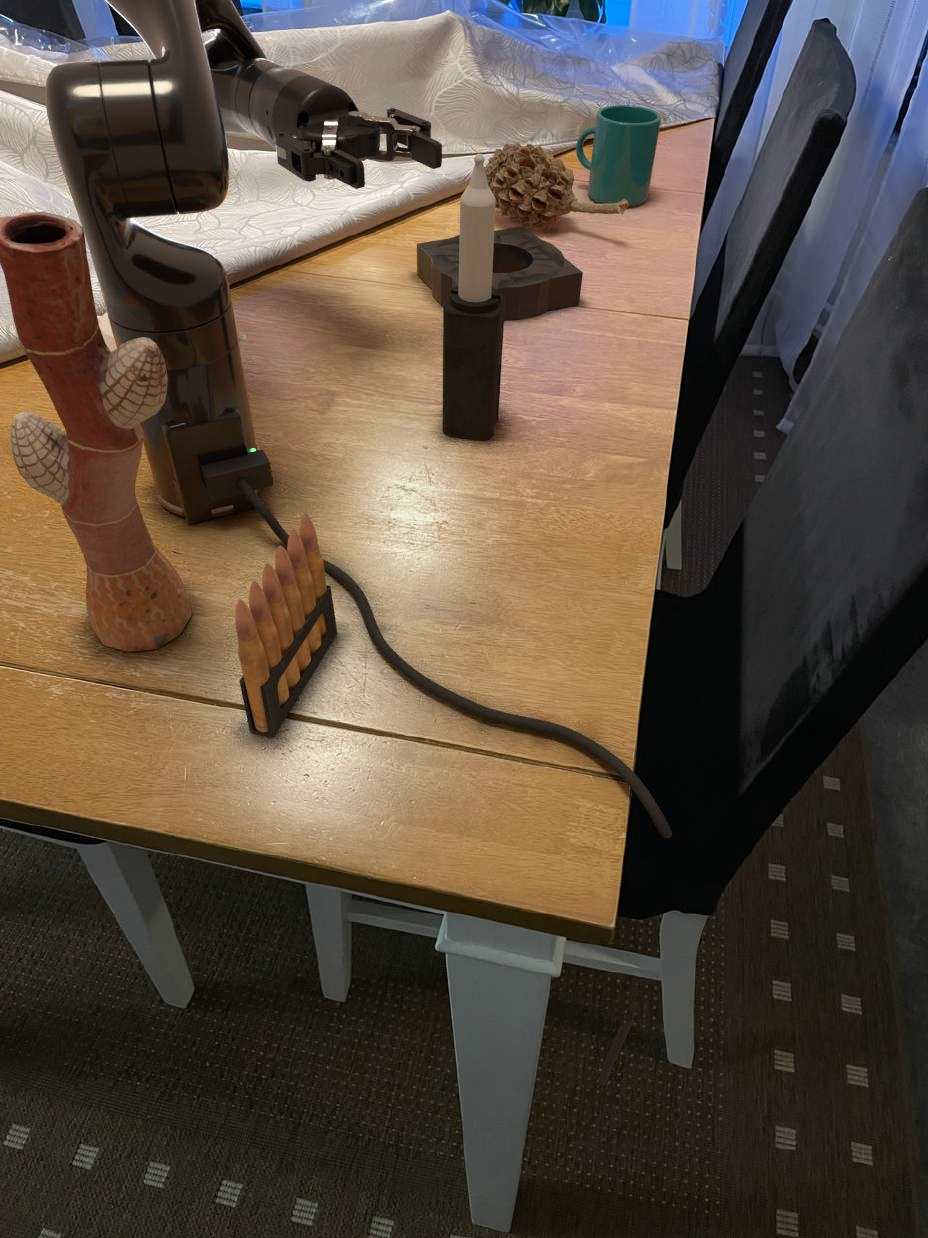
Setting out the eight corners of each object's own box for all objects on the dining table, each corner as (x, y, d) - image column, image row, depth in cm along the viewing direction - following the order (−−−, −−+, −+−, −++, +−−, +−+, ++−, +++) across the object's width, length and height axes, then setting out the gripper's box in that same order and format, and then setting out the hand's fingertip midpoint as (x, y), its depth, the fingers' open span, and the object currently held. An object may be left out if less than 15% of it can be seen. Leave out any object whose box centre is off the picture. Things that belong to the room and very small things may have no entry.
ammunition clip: (273, 739, 60) (246, 614, 51) (248, 732, 60) (218, 607, 51) (338, 632, 67) (323, 507, 58) (315, 626, 67) (298, 501, 59)
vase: (67, 633, 66) (-108, 227, 45) (127, 573, 71) (-4, 180, 50) (185, 675, 63) (60, 264, 42) (240, 609, 68) (152, 212, 47)
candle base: (585, 305, 106) (589, 273, 103) (465, 330, 101) (466, 296, 98) (523, 253, 116) (525, 223, 113) (411, 274, 111) (410, 242, 108)
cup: (585, 178, 137) (594, 97, 129) (656, 194, 133) (670, 111, 125) (559, 195, 131) (567, 112, 123) (633, 213, 127) (646, 128, 119)
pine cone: (467, 225, 123) (469, 148, 116) (495, 202, 129) (498, 128, 122) (617, 256, 116) (629, 177, 109) (639, 231, 122) (651, 154, 115)
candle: (491, 442, 85) (505, 167, 67) (440, 435, 86) (441, 161, 68) (500, 414, 89) (516, 146, 71) (450, 407, 89) (454, 140, 72)
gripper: (233, 86, 81) (330, 135, 72) (361, 63, 87) (464, 105, 79) (245, 173, 86) (337, 227, 77) (365, 145, 92) (462, 192, 84)
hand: (401, 166), depth 78 cm, fingers open, 8 cm apart
